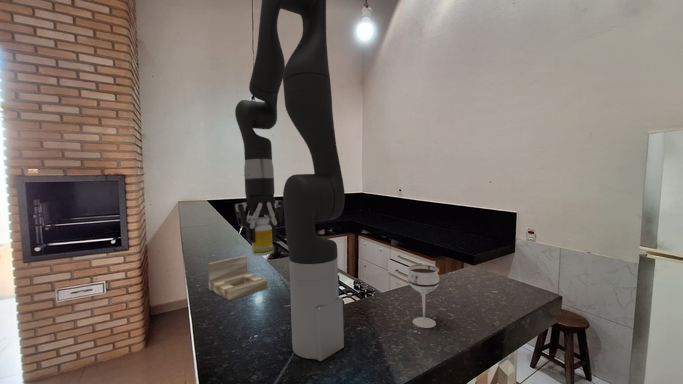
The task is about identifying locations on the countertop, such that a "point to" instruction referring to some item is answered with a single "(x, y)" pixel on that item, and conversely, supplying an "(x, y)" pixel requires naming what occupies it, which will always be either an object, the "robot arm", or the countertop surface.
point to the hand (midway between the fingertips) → (262, 240)
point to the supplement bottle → (262, 237)
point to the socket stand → (233, 278)
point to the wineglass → (423, 288)
